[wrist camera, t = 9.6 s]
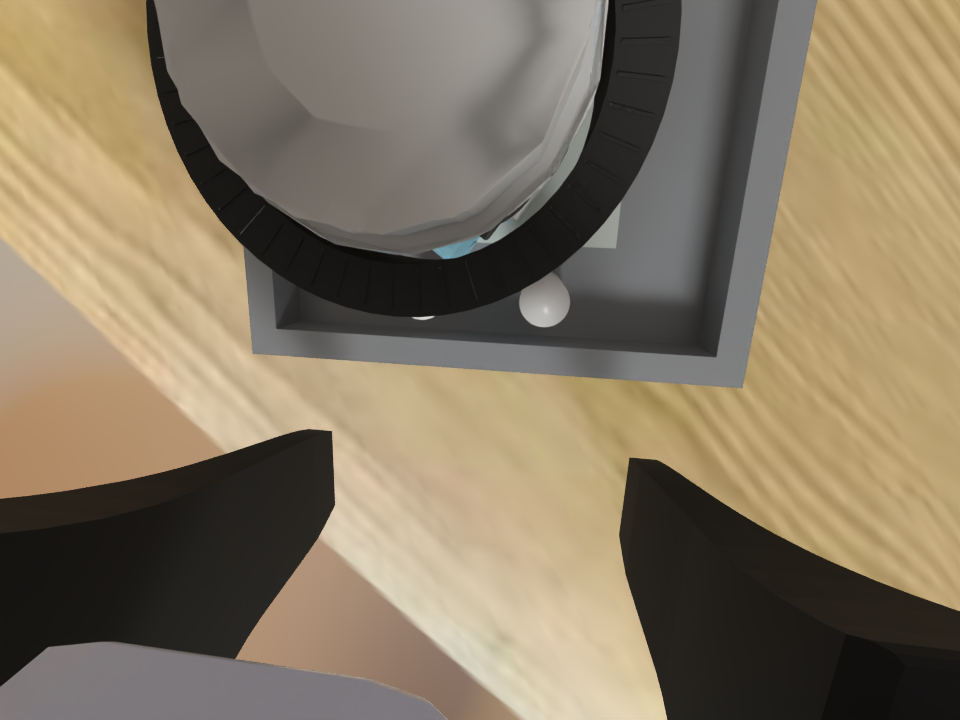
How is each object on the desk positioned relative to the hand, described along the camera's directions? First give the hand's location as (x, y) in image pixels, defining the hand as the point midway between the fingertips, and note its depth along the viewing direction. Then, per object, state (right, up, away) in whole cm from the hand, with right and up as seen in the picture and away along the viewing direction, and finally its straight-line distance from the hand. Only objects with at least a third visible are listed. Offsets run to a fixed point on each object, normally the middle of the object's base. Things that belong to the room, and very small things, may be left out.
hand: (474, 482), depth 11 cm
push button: (+1, +9, +2) cm, 9 cm away
